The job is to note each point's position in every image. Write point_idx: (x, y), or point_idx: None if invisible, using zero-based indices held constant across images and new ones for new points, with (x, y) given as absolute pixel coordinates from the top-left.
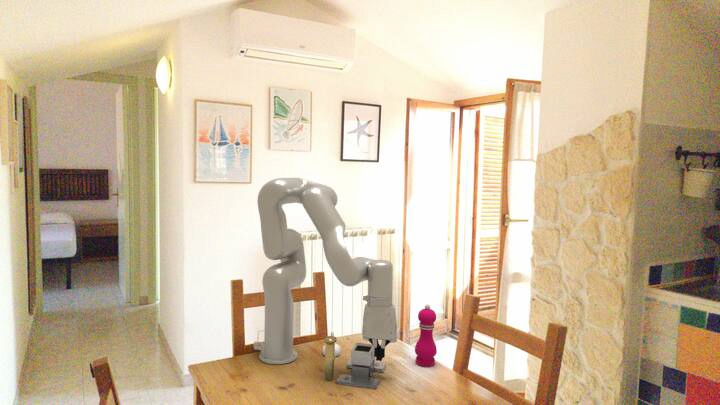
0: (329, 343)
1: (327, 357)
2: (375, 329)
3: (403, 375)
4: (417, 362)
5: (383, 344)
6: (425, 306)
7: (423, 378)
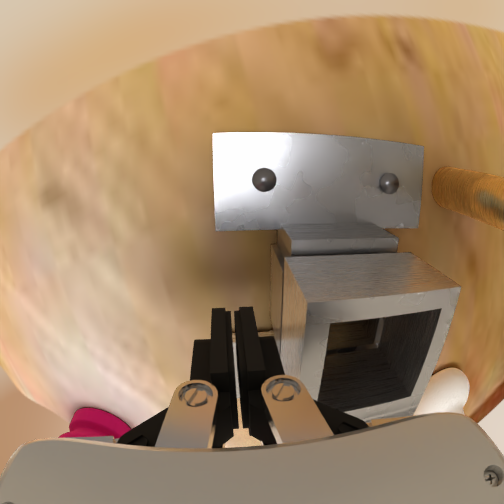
0: None
1: None
2: None
3: (127, 331)
4: (118, 424)
5: (184, 413)
6: None
7: (52, 323)
